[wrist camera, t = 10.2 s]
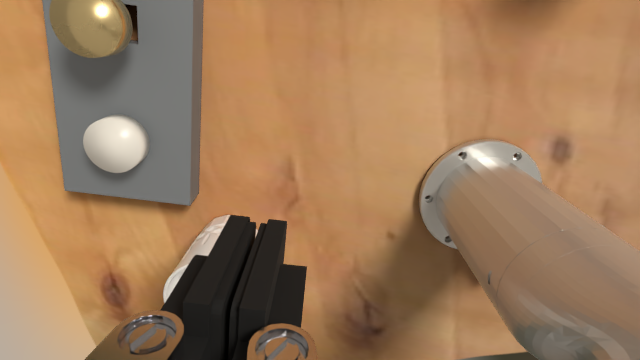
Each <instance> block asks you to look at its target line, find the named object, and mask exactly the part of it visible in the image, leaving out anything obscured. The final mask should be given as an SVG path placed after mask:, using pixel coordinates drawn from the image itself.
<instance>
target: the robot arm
mask: <svg viewBox="0 0 640 360" xmlns="http://www.w3.org/2000/svg"><path fill="white" fill-rule="evenodd" d="M460 152H462V153H461V155H459V153H460ZM514 154H515V155H514ZM428 195H429V196H428ZM426 196H428V197H426ZM419 209H420V214H421V217H422V220H423V222H424V224H425V226H426V227H427V229H428V231H429V232H430V233H431V234H432V235H433V237H434V238H436V239H437V240H438V241H440V242H441V243H442V244H444V245H446V246H448V247H451V248H454V249H458V250H459V252H460V253H461V255H462V257H463V258H464V260H465V261H466V263H467V264H468V266H469V268H470V269H471V271H472V272H473V274H474V275H475V277H476V279H477V280H478V282H479V283H480V285H481V286H482V288H483V290H484V291H485V293H486V294H487V296H488V297H489V299H490V301H491V302H492V304H493V305H494V307H495V308H496V310H497V312H498V313H499V315H500V316H501V318H502V320H503V321H504V323H505V324H506V326H507V327H508V329H509V330H510V332H511V333H512V335H513V336H514V337H515V339H516V340H517V341H518V342H519V343H520V344H521V345H522V346H523V347H524V348H525V349H526V350H527V351H528V352H530V353H531V354H532V355H534V356H535V357H536V358H538V359H539V360H640V251H639V250H637V249H636V248H634V247H633V246H632V245H630V244H629V243H627V242H626V241H624V240H623V239H621V238H620V237H618V236H617V235H615V234H614V233H613V232H611V231H610V230H608V229H607V228H605V227H604V226H603V225H601V224H600V223H598V222H597V221H595V220H594V219H592V218H591V217H590V216H588V215H587V214H585V213H584V212H582V211H581V210H579V209H578V208H577V207H575V206H574V205H572V204H571V203H569V202H568V201H567V200H565V199H564V198H562V197H561V196H559V195H558V194H556V193H555V192H554V191H552V190H551V189H549V188H548V187H546V186H545V185H543V184H542V178H541V174H540V171H539V169H538V167H537V165H536V163H535V162H534V160H533V159H532V158H531V157H530V156H529V155H528V154H527V153H526V152H524V151H523V150H522V149H520V148H518V147H517V146H515V145H513V144H511V143H508V142H505V141H502V140H495V139H481V140H474V141H470V142H466V143H464V144H461V145H459V146H457V147H455V148H453V149H451V150H450V151H448V152H447V153H445V154H444V155H443V156H441V157H440V158H439V159H438V160H437V161H436V162H435V163H434V164H433V166H432V167H431V168H430V170H429V171H428V172H427V174H426V176H425V178H424V180H423V182H422V185H421V189H420V193H419ZM286 229H287V221H281V220H271V219H269V220H268V223H267V224H265V223H261V224H260V227H259V230H258V233H257V235H256V222H250V217H244V216H235V215H230V217H229V219H228V220H227V222H226V224H225V226H224V228H223V230H222V231H221V233H220V235H219V237H218V239H217V240H216V242H215V244H214V246H213V248H212V250H211V251H210V253H209V255H208V256H204V255H195V256H194V257H193V258H192V260H191V261H190V263H189V265H188V266H187V268H186V270H185V271H184V273H183V274H182V276H181V278H180V279H179V281H178V283H177V284H176V286H175V287H174V289H173V291H172V292H171V294H170V296H169V297H168V299H167V301H166V302H165V304H164V305H163V307H162V309H161V310H153V311H145V312H142V313H138V314H135V315H133V316H131V317H129V318H127V319H125V320H124V321H122V322H121V323H120V324H119V325H118V326H116V327H115V328H114V329H113V330H112V332H111V333H110V334H109V335H108V336H107V337H106V338H105V339H104V340H103V341H102V342H101V343H100V344H99V345H98V346H97V347H96V348H95V349H94V350H93V351H92V352H91V353H90V354H89V355H88V357H86V359H85V360H318V358H317V351H316V346H315V343H314V341H313V339H312V338H311V336H310V335H309V334H308V333H307V332H306V331H304V330H303V329H301V321H302V311H303V300H304V290H305V280H306V270H307V267H305V266H296V265H287V264H283V262H284V251H285V240H286ZM255 237H256V238H255Z"/></svg>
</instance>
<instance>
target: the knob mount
mask: <svg viewBox="0 0 640 360" xmlns="http://www.w3.org/2000/svg"><path fill="white" fill-rule="evenodd" d="M42 1H43V10H44V18H45V27H46V35H47V43H48V52H49V60H50V69H51V77H52V86H53V94H54V103H55V111H56V120H57V128H58V137H59V145H60V154H61V162H62V171H63V179H64V188H65V191H74V192H82V193H90V194H99V195H107V196H115V197H123V198H132V199H140V200H148V201H156V202H165V203H173V204H181V205H191V204H192V202H193V201H194V199H195V198H196V196H197V195H198V194H199V164H200V123H201V82H202V41H203V0H121V1H122V2H123V3H124V4H129V5H135V6H137V21H138V41H134V40H130V42H129V44H128V45H127V47H126V48H125V49H124V50H123V51H121V52H120V53H118V54H115V55H111V56H105V57H97V58H87V57H83V56H80V55H77V54H75V53H73V52H72V51H70V50H69V49H68V48H66V47H65V46H64V45H63V44H62V43H61V42H60V40H59V39H58V38H57V36H56V34H55V33H54V31H53V28H52V26H51V22H50V17H49V9H50V3H51V1H52V0H42ZM115 114H120V115H126V116H129V117H131V118H133V119H135V120H136V121H137V122H139V123H140V124H141V125H142V126H143V128H144V129H145V130H146V132H147V134H148V137H149V142H150V148H149V152H148V154H147V156H146V157H145V158H144V159H143V160H142V161H141V162H140V163H138V164H137V165H136V166H135V167H133V168H132V169H130V170H129V171H126V172H122V173H112V172H108V171H105V170H103V169H101V168H99V167H98V166H96V165H95V164H94V163H93V162H92V161H91V160H90V159H89V157H88V156H87V154H86V152H85V149H84V145H83V137H84V133H85V131H86V129H87V128H88V127H89V126H90V125H91V124H92V123H94V122H96V121H98V120H100V119H103V118H105V117H107V116H110V115H115Z"/></svg>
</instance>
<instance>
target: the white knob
mask: <svg viewBox="0 0 640 360" xmlns="http://www.w3.org/2000/svg"><path fill="white" fill-rule="evenodd" d="M83 145H84V149H85V152H86V154H87V156H88V157H89V159H90V160H91V161H92V162H93V163H94V164H95V165H96V166H98V167H99V168H101V169H103V170H105V171H108V172H112V173H122V172H126V171H129V170H130V169H132V168H133V167H135V166H136V165H137V164H138V163H140V162H141V161H142V160H143V159H144V158H145V157H146V156H147V154H148V152H149V148H150V142H149V137H148V134H147V132H146V130H145V129H144V128H143V126H142V125H141V124H140V123H139V122H137V121H136V120H135V119H133V118H131V117H129V116H126V115H120V114H115V115H110V116H107V117H105V118H103V119H100V120H98V121H96V122H94V123H92V124H91V125H90V126H89V127H88V128H87V129H86V131H85V133H84V137H83Z"/></svg>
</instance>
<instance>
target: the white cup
mask: <svg viewBox="0 0 640 360" xmlns="http://www.w3.org/2000/svg"><path fill="white" fill-rule="evenodd" d="M229 217H230V215H225V216H221V217H217V218H214V219H213V220H212V221H211V222H210V223H208V224H207V225H206V226H205V227H204V229H203V230H202V232H201V233H200V234H199V236H198V237H197V238H196V239H195V240H194V242H193V243H192V245H191V246H190V247H189V249H188V250H187V251H186V253H185V254H184V256H183V257H182V259H181V260H180V262H179V263H178V265H177V266H176V268H175V269H174V271H173V272H172V274H171V275H170V277H169V278H168V280H167V281H166V284H165V286H164V291H163V299H164V303H165V302H166V301H167V299H168V297H169V296H170V294H171V292H172V291H173V289H174V287H175V286H176V284H177V283H178V281H179V279H180V278H181V276H182V274H183V273H184V271H185V270H186V268H187V266H188V265H189V263H190V261H191V260H192V258H193V257H194V256H195V255H204V256H208V255H209V253H210V251H211V250H212V248H213V246H214V244H215V242H216V240H217V239H218V237H219V235H220V233H221V231H222V230H223V228H224V226H225V224H226V222H227V220H228V219H229ZM257 233H258V230H257V229H256V235H257ZM255 238H256V237H255Z"/></svg>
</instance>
